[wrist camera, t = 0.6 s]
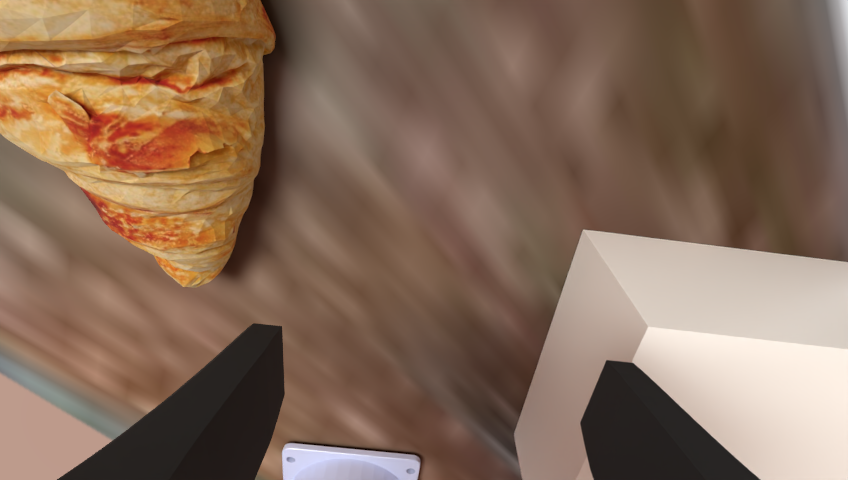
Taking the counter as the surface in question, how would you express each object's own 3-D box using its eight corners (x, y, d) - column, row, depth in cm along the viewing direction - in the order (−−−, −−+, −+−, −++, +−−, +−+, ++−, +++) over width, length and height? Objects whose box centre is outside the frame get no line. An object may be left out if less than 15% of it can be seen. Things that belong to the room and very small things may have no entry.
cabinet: (811, 467, 26) (917, 596, 20) (512, 437, 25) (535, 563, 19) (976, 278, 20) (1197, 389, 14) (583, 229, 19) (648, 326, 13)
